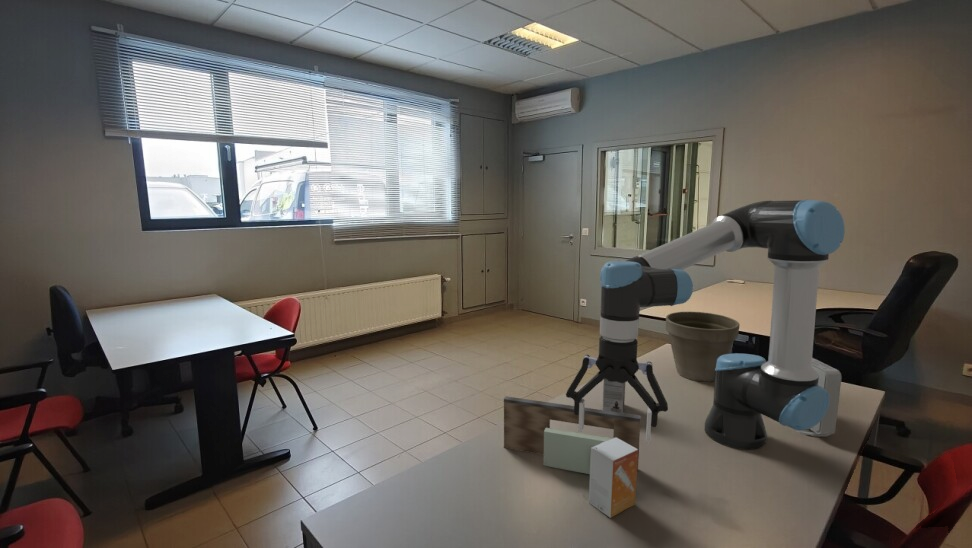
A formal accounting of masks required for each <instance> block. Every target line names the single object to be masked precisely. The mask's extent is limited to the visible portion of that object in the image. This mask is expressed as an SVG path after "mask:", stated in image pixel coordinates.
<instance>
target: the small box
mask: <svg viewBox="0 0 972 548" xmlns="http://www.w3.org/2000/svg"><path fill="white" fill-rule="evenodd" d="M637 463H638V464H639V460H638V449H636V448H635V447H633V446H631V445H629V444H627V443H626V442H624V441H622V440H620V439H618V438H617V437H615V438H613V439H610V440H608V441H605V442H602V443H600V444H599V445H596V446H594V447H592V448H591V458H590V474H589V485H588V486H589V487H588V488H589V489H588V490H589V492H588V503H589V504H590V505H592V506H593V507H594V508H595V509H597V510H598V511H600V512H601V513H603V514H604V515H606V516H607V517H609V518H610V519H612V518H614V517H615V516H617V515H618V514H620V513H622V512H623V511H626V510H627V509H630V508H631V507H633V506H635V505H636V495H637V493H636V492H637V478H638V472H637Z"/></svg>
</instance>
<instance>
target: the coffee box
mask: <svg viewBox="0 0 972 548" xmlns="http://www.w3.org/2000/svg"><path fill="white" fill-rule="evenodd" d="M602 388H603V389H602V390H603V392H602V410H605V411H612V412H619V413H625V398H626V382H624V383H619V382H617V381H614V382H610V381H608V380H606V379H603V387H602Z"/></svg>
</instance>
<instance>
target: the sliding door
mask: <svg viewBox="0 0 972 548" xmlns="http://www.w3.org/2000/svg"><path fill="white" fill-rule="evenodd" d="M610 439H613V438H612V437H607V436H599V435H593V434H587V433H583V432H575V431H570V430H563V429H557V428H551V427H550V428H545V430H544V455H543V466H545V467H548V468H549V467H550V468H555V469H560V470H565V471H570V472H576V473H583V474H587V475H590V458H591V448H592V447H594V446H596V445H599V444H600V443H602V442H605V441H608V440H610Z"/></svg>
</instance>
